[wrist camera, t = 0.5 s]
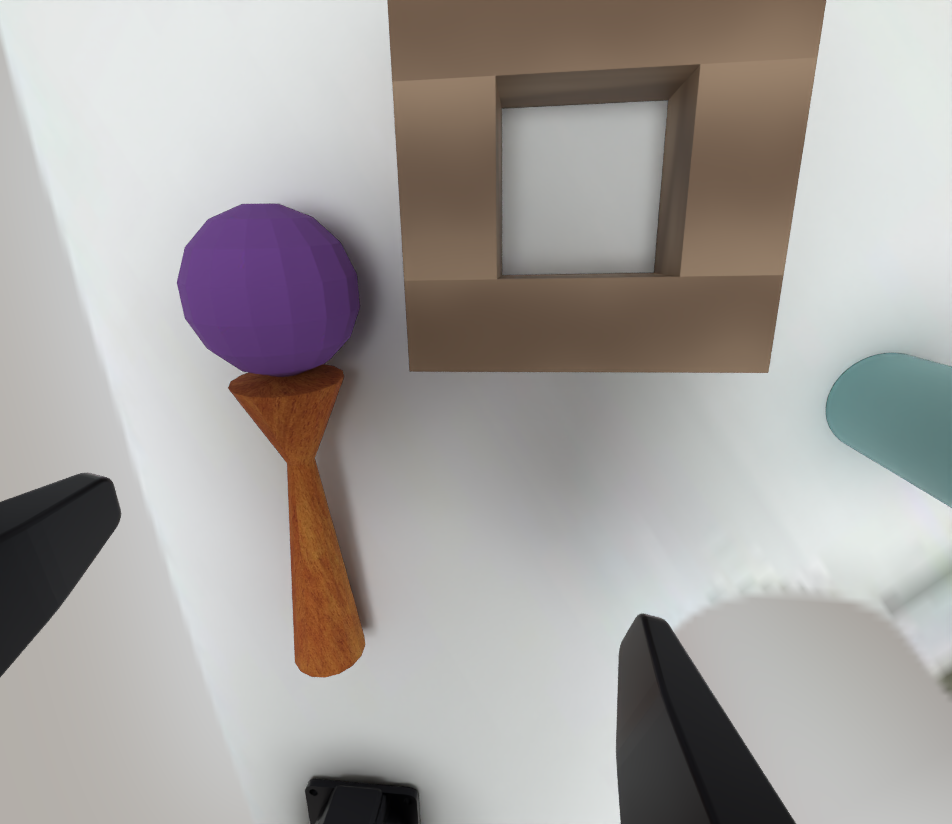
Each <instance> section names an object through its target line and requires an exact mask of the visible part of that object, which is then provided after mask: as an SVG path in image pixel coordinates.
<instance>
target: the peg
mask: <svg viewBox="0 0 952 824" xmlns="http://www.w3.org/2000/svg"><path fill="white" fill-rule="evenodd" d="M826 416H827V421H828V424H829V427H830V429H831V430H832V432H833V433H834V435H835V436H836V437H837V438H838V439H839V440H840V441H842V442H843V443H845V444H846V445H848V446H850V447H851V448H853V449H855V450H856V451H858V452H860V453H861V454H863V455H865V456H866V457H868V458H870V459H871V460H873V461H875V462H876V463H878V464H880V465H881V466H883V467H885V468H886V469H888V470H890V471H891V472H893V473H895V474H896V475H898V476H900V477H901V478H903V479H905V480H906V481H908V482H910V483H911V484H913V485H914V486H916V487H918V488H919V489H921V490H923V491H924V492H926V493H928V494H929V495H931V496H933V497H934V498H936V499H938V500H939V501H941V502H943V503H944V504H946V505H948V506H949V507H951V508H952V367H951V366H947V365H944V364H940V363H936V362H932V361H929V360H925V359H921V358H918V357H914V356H910V355H906V354H901V353H884V354H878V355H874V356H871V357H868V358H866V359H863V360H861V361H860V362H858V363H856V364H854V365H853V366H852V367H850V368H849V369H848V370H847V371H845V372H844V373H843V374H842V375H841V376H840V377H839V379H838V380H837V381H836V383H835V384H834V386H833V388H832V389H831V392H830V394H829V396H828V400H827V406H826Z"/></svg>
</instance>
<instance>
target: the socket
mask: <svg viewBox="0 0 952 824" xmlns="http://www.w3.org/2000/svg"><path fill="white" fill-rule="evenodd" d="M825 5H826V0H388V17H389V34H390V51H391V67H392V84H393V101H394V118H395V135H396V151H397V168H398V185H399V202H400V219H401V235H402V252H403V269H404V286H405V303H406V319H407V336H408V353H409V370H410V371H413V372H693V373H768V371H769V364H770V358H771V352H772V345H773V339H774V332H775V326H776V320H777V313H778V307H779V300H780V294H781V287H782V281H783V275H784V268H785V262H786V255H787V249H788V243H789V236H790V230H791V223H792V217H793V210H794V204H795V198H796V191H797V185H798V178H799V172H800V165H801V159H802V153H803V146H804V140H805V133H806V127H807V121H808V114H809V108H810V101H811V95H812V88H813V82H814V76H815V69H816V63H817V56H818V50H819V44H820V37H821V31H822V24H823V18H824V11H825ZM658 100H668V109H667V121H666V134H665V146H664V158H663V170H662V182H661V194H660V207H659V219H658V231H657V243H656V255H655V267H654V273H604V274H541V275H502V108H517V107H538V106H558V105H578V104H598V103H618V102H638V101H658Z"/></svg>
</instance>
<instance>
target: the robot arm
mask: <svg viewBox="0 0 952 824" xmlns="http://www.w3.org/2000/svg"><path fill="white" fill-rule="evenodd" d="M120 518H121V509H120V506H119V502H118V499H117V495H116V491H115V487H114V484H113V482H112V481H111V480H110V479H109V478H107V477H103V476H100V475H96V474H92V473H80V474H77V475H74V476H71V477H69V478H66V479H63V480H60V481H57V482H55V483H52V484H49V485H46V486H44V487H41V488H38V489H35V490H32V491H30V492H27V493H24V494H21V495H19V496H16V497H13V498H10V499H7V500H4V501H2V502H0V677H1V676H2V675H3V674H4V673H5V671H6V670H7V669H8V668H9V667H10V665H11V664H12V663H13V662H14V661H15V660H16V658H17V657H18V656H19V655H20V654H21V652H22V651H23V650H24V649H25V648H26V647H27V645H28V644H29V643H30V642H31V641H32V640H33V638H34V637H35V636H36V635H37V634H38V633H39V632H40V630H41V629H42V628H43V627H44V626H45V625H46V623H47V622H48V621H49V620H50V618H51V617H52V616H53V615H54V614H55V612H56V611H57V610H58V609H59V608H60V606H61V605H62V603H63V602H64V600H65V599H66V598H67V597H68V595H69V594H70V592H71V591H72V590H73V589H74V587H75V586H76V584H77V583H78V581H79V580H80V578H81V577H82V576H83V574H84V573H85V572H86V570H87V569H88V567H89V566H90V564H91V563H92V562H93V560H94V559H95V557H96V556H97V555H98V553H99V552H100V550H101V549H102V547H103V546H104V545H105V543H106V541H107V540H108V539H109V537H110V536H111V535H112V533H113V532H114V530H115V529H116V527H117V526H118V524H119V521H120ZM616 761H617V778H618V792H619V805H620V819H621V824H796V823H795V821H794V820H793V818H792V817H791V815H790V813H789V812H788V810H787V809H786V807H785V806H784V804H783V802H782V801H781V799H780V798H779V796H778V795H777V793H776V792H775V790H774V788H773V787H772V785H771V784H770V782H769V781H768V779H767V777H766V776H765V774H764V773H763V771H762V770H761V768H760V766H759V765H758V763H757V762H756V760H755V759H754V757H753V755H752V754H751V753H750V751H749V749H748V748H747V746H746V745H745V743H744V742H743V740H742V738H741V737H740V735H739V734H738V732H737V730H736V729H735V727H734V726H733V724H732V723H731V721H730V719H729V718H728V716H727V715H726V713H725V712H724V710H723V709H722V707H721V705H720V704H719V702H718V701H717V699H716V698H715V696H714V695H713V693H712V691H711V690H710V688H709V687H708V685H707V683H706V682H705V681H704V679H703V677H702V676H701V674H700V673H699V671H698V669H697V668H696V666H695V665H694V663H693V662H692V660H691V658H690V657H689V655H688V654H687V652H686V651H685V649H684V648H683V646H682V644H681V643H680V641H679V640H678V638H677V636H676V635H675V633H674V632H673V630H672V629H671V627H670V626H669V624H668V623H667V622H666V621H665V620H664V619H662V618H659V617H655V616H651V615H647V614H639V615H638V616H637V617H636V618H635V620H634V621H633V623H632V625H631V627H630V628H629V630H628V632H627V633H626V635H625V637H624V638H623V640H622V642H621V645H620V650H619V664H618V697H617V730H616ZM305 793H306V800H307V806H308V812H309V818H310V824H420V810H419V796H418V792H417V791H416V790H415V789H413V788H409V787H398V786H387V785H376V784H364V783H353V782H342V781H331V780H320V779H312V780H310V781H309V782H308V784H307V787H306V789H305Z"/></svg>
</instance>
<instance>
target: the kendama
mask: <svg viewBox="0 0 952 824" xmlns="http://www.w3.org/2000/svg"><path fill="white" fill-rule="evenodd" d="M177 285H178V290H179V294H180V298H181V303H182V307H183V312H184V316H185V319H186V320H187V322H188V323H189V324H190V326H191V327H192V329H193V330H194V331H195V333H196V334H197V335H198V337H199V338H200V340H201V341H202V342H203V344H204V345H205V346H206V348H207V349H209V350H210V351H212V352H213V353H215V354H216V355H218V356H219V357H221V358H222V359H224V360H226V361H227V362H229V363H230V364H232V365H234V366H235V367H237V368H238V369H240V370H241V371H244V372H249V373H246V374H243V375H241V376H239V377H238V378H236V379H234V380H233V381H231V382H230V385H229V387H228V389H229V390H230V391H231V393H232V394H233V395H234V396H235V398H236V399H237V400H238V402H239V403H240V404H241V405H242V407H243V408H244V409H245V410H246V412H247V413H248V414H249V415H250V417H251V418H252V419H253V421H254V422H255V423H256V424H257V426H258V427H259V428H260V429H261V431H262V432H263V433H264V434H265V436H266V437H267V438H268V439H269V441H270V442H271V443H272V445H273V446H274V447H275V448H276V450H277V451H278V452H279V453H280V455H281V456H282V457H283V458H284V460H285V461H286V462H287V474H288V499H289V524H290V550H291V575H292V600H293V625H294V650H295V663H296V665H297V666H298V668H299V670H300V671H301V672H303V673H305V674H307V675H309V676H311V677H329V676H332V675H336V674H340V673H341V672H343V671H345V670H346V669H348V668H350V667H351V666H353V665H354V664H355V662H356V661H357V660H358V659H359V658H360V657H361V655H362V653H363V650H364V647H365V639H364V634H363V630H362V626H361V623H360V619H359V616H358V612H357V608H356V605H355V601H354V598H353V594H352V590H351V587H350V583H349V580H348V576H347V573H346V569H345V565H344V562H343V558H342V555H341V551H340V547H339V544H338V540H337V537H336V533H335V529H334V526H333V522H332V519H331V515H330V511H329V508H328V504H327V501H326V497H325V493H324V490H323V486H322V483H321V479H320V475H319V472H318V468H317V465H316V461H315V456H316V453H317V450H318V448H319V445H320V442H321V439H322V437H323V434H324V431H325V428H326V425H327V423H328V420H329V417H330V414H331V412H332V409H333V406H334V403H335V401H336V398H337V395H338V392H339V389H340V387H341V384H342V381H343V378H344V374H343V370H341V369H338V368H336V367H334V366H329V365H323V364H325V363H326V362H327V361H328V360H330V359H331V358H332V357H333V356H334V354H335V353H336V352H337V351H338V350H339V349H340V348H341V347H342V346H343V344H344V343H345V342H346V341H347V340H348V339H349V338H350V337H351V334H352V331H353V327H354V324H355V321H356V318H357V315H358V312H359V309H360V302H359V291H358V281H357V273H356V272H355V270H354V268H353V266H352V264H351V262H350V260H349V258H348V256H347V254H346V252H345V250H344V248H343V246H342V244H341V242H340V241H338V240H337V239H336V238H335V237H334V236H333V235H332V234H331V233H330V232H329V231H327V230H326V229H325V228H324V227H323V226H322V225H321V224H320V223H319V222H318V221H317V220H315V219H314V218H313V217H311V216H308V215H306V214H303V213H301V212H298V211H296V210H293V209H290V208H288V207H285V206H283V205H280V204H241V205H239V206H236V207H234V208H232V209H230V210H228V211H225V212H223V213H221V214H219V215H216V216H214V217H212V218H210V219H208V220H207V221H206V222H205V224H204V225H203V226H202V227H201V228H200V230H199V231H198V232H197V233H196V234H195V236H194V237H193V238H192V239H191V241H190V242H189V243H188V244H187V245H186V247H185V249H184V254H183V258H182V262H181V267H180V271H179V276H178V280H177Z"/></svg>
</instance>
